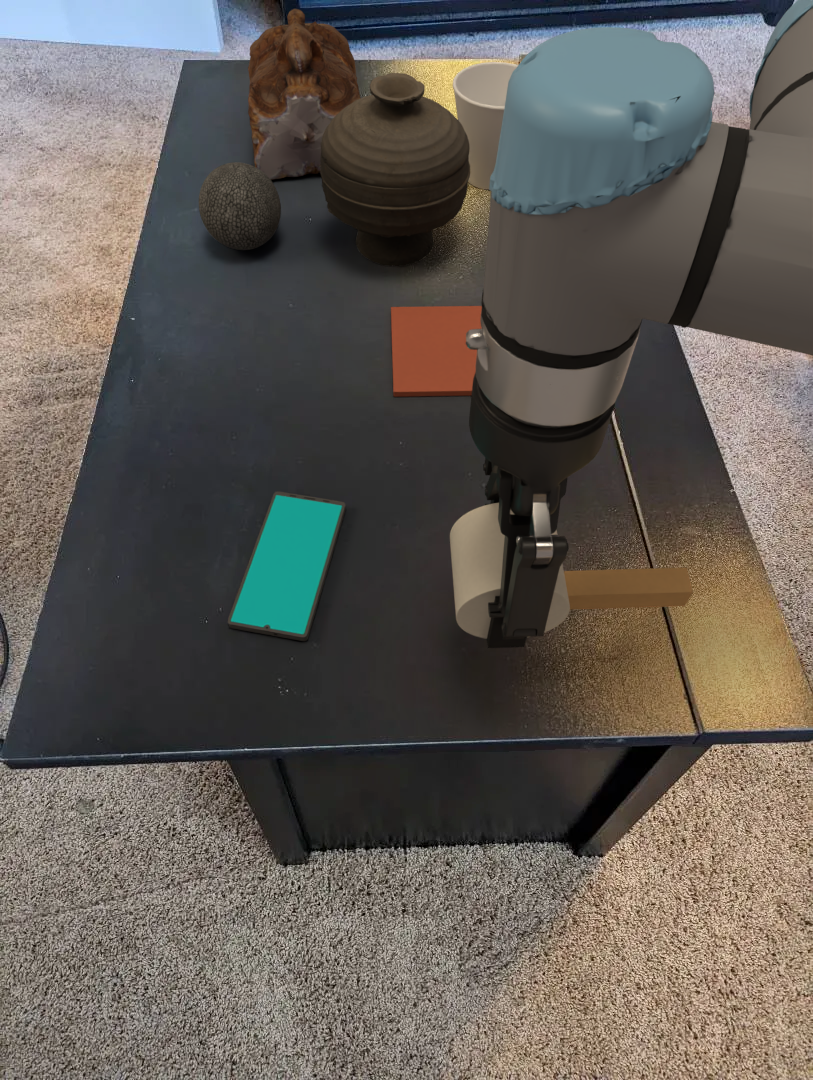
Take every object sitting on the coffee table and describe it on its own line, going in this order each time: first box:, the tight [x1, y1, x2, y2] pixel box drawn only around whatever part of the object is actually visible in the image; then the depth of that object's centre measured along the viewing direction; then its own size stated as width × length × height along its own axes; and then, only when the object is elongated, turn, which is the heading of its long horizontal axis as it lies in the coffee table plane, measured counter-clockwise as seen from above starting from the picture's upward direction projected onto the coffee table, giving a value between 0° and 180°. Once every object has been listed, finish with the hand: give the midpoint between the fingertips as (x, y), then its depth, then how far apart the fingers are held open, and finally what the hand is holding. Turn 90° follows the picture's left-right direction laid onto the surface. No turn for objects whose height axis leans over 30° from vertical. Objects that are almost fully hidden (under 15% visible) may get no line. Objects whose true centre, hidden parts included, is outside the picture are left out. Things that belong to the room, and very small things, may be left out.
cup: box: [452, 61, 519, 191], centre depth 102 cm, size 12×12×12 cm
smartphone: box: [227, 490, 347, 642], centre depth 71 cm, size 7×1×15 cm
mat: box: [390, 305, 482, 398], centre depth 87 cm, size 22×14×1 cm, turn 92°
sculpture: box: [247, 8, 362, 181], centre depth 107 cm, size 19×18×20 cm
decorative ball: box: [198, 161, 282, 251], centre depth 94 cm, size 10×10×10 cm
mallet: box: [449, 503, 694, 640], centre depth 56 cm, size 18×7×8 cm, turn 92°
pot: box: [319, 72, 470, 267], centre depth 91 cm, size 18×18×20 cm
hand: (500, 597), depth 59 cm, fingers closed on mallet, 7 cm apart
